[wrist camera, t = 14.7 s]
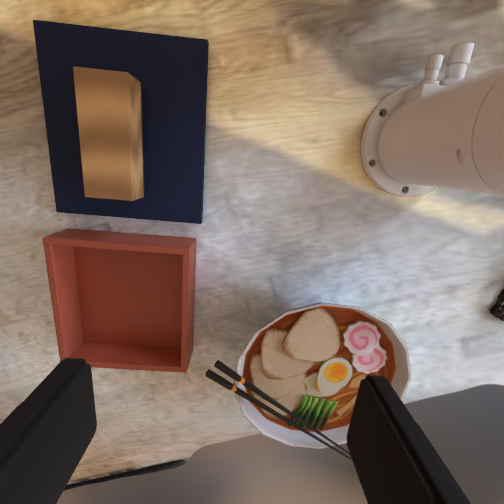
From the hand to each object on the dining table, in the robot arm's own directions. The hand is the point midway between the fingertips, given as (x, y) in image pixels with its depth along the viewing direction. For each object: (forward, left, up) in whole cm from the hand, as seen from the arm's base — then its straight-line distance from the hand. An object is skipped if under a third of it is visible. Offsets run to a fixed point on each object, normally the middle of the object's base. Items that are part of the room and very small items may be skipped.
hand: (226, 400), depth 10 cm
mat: (-10, -14, -28) cm, 33 cm away
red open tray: (+11, -14, -28) cm, 33 cm away
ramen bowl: (+18, +12, -28) cm, 36 cm away
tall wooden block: (-9, -14, -28) cm, 32 cm away
